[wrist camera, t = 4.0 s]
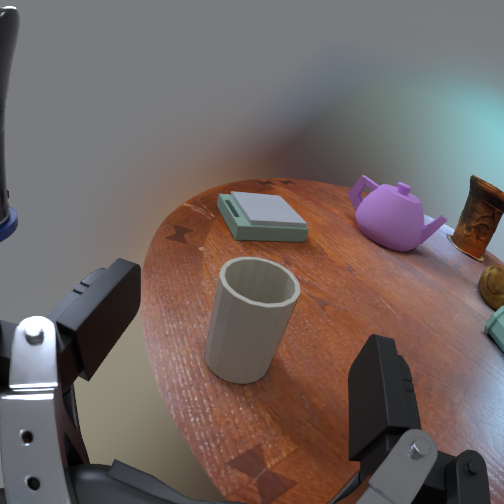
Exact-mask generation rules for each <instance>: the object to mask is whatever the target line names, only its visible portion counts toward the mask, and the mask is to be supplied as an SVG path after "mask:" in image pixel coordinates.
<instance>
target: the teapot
mask: <svg viewBox="0 0 504 504" xmlns="http://www.w3.org/2000/svg"><path fill="white" fill-rule="evenodd" d="M366 185H367V186H368V187H369V188H370V189H371V190H372V192H371V193H370V194H369V195H368V196H366V197H365V199H364V200H363V199H362V197H361V195H360V194H361V192H362V190H363V189H364V187H365V186H366ZM410 191H411V187H410V186H408V185H406V184H404V183H401V182H398V188H397V187H394V186H391V185H387V184H383V185H381V186H379V185H377V184H376V183H375V182H373V181H372V180H370V179H369V178H367V177H366V176H365V175H364V176H361V177H360V179H359V180H358V181H357V182H356V184H355V185H354V186H353V187H352V189H351V190H350V191H349V193H348V195H349V198H350V200H351V202H352V204H353V207H354V209H355V211H356V213H355V218H356V221H357V224H358V227H359V229H360V230H361V232H362V233H363V234H365V235H366V236H367V237H368V238H370V239H371V240H373V241H375V242H376V243H378V244H380V245H382V246H384V247H387V248H389V249H392V250H396V251H408V250H411V249H413V248H415V247H417V246H418V245H419V244H422V243H423V242H424V241H426V240H427V239H428V238H429V237H430V236H431V235H432V234H433V233H434V232H435V231H437V230H438V229H439V228H440V227H441V226H442V225H443V224H444V223H445V222H446V221H447V219H446V218H445V217H443V216H441V215H440V217H438V218H437V219H435V220H434V221H432V222H431V223H430V224H428V225H427V226H425V225H424V216H423V208H422V204H421V201H420V200H419V199H418V198H416V197H415V196H413V195H412V194H410V193H409V192H410Z"/></svg>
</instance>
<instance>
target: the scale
mask: <svg viewBox="0 0 504 504" xmlns="http://www.w3.org/2000/svg"><path fill="white" fill-rule="evenodd" d="M217 207H218V209H219V211H220V213H221V215H222V216H223V218H224V220H225V222H226V224H227V226H228V228H229V229H230V231H231V233H232V235H233V237H234V239H235V240H254V241H287V242H305V239H306V236H307V234H308V231H309V229H308V228H307V227H306V224H307V223H306V222H305V221H304V220H303V219H302V218H301V217H300V216H299V215H298V214H297V213H296V212H295V211H294V210H293V209H292V208H291V207H290V206H289V205H288V204H287V203H286V202H285V201H284V200H283V198H282V197H281V196H275V195H265V194H255V193H243V192H231V195H229V194H219V197H218V202H217Z"/></svg>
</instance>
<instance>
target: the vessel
mask: <svg viewBox="0 0 504 504" xmlns="http://www.w3.org/2000/svg"><path fill="white" fill-rule="evenodd" d="M503 213H504V192H502V191H501V190H499V189H498V188H496V187H495V186H493V185H492V184H489V183H487V182H486V181H484V180H482V179H480V178H478V177H476V176H474V175H472V176H471V178H470V191H469V196H468V198H467V201H466V204H465V207H464V209H463V211H462V214H461V216H460V219H459V222H458V225H457V227H456V229H455V232H454V234H453V236H452V235H448V234H447V236H448V238H449V239H450V240H451V242H452V244H453V245H454V246H455V248H458V249H459V250H460V251H462V252H464V253H466V254H469V255H471V256H472V257H474V258H475V259H477V260H479V261H483V260H484V258H483V256H482V255H483V253H484V251H485V249H486V247H487V245H488V243H489V242H490V240H491V238H492V236H493V234H494V232H495V231H496V228H497V225H498V223H499V221H500V219H501V217H502V215H503Z"/></svg>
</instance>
